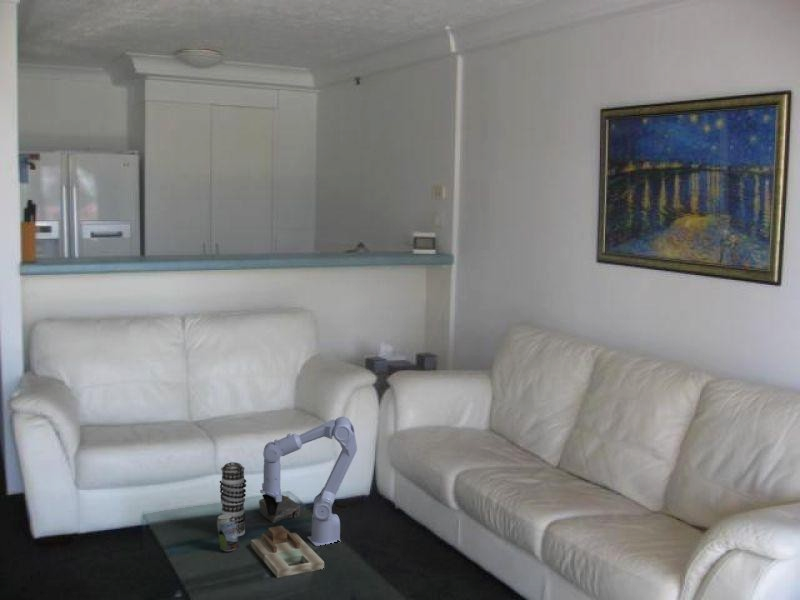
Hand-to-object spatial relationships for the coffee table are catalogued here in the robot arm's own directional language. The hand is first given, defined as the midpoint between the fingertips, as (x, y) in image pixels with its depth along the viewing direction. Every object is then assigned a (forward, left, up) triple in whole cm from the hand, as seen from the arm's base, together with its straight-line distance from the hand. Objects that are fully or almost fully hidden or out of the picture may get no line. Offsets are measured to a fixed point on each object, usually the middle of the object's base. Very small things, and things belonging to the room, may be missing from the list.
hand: (271, 514), depth 334 cm
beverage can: (+16, +1, -10) cm, 19 cm away
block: (0, +6, -7) cm, 9 cm away
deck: (0, +15, -9) cm, 18 cm away
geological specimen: (-10, -22, -10) cm, 26 cm away
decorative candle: (+10, -12, -10) cm, 18 cm away
